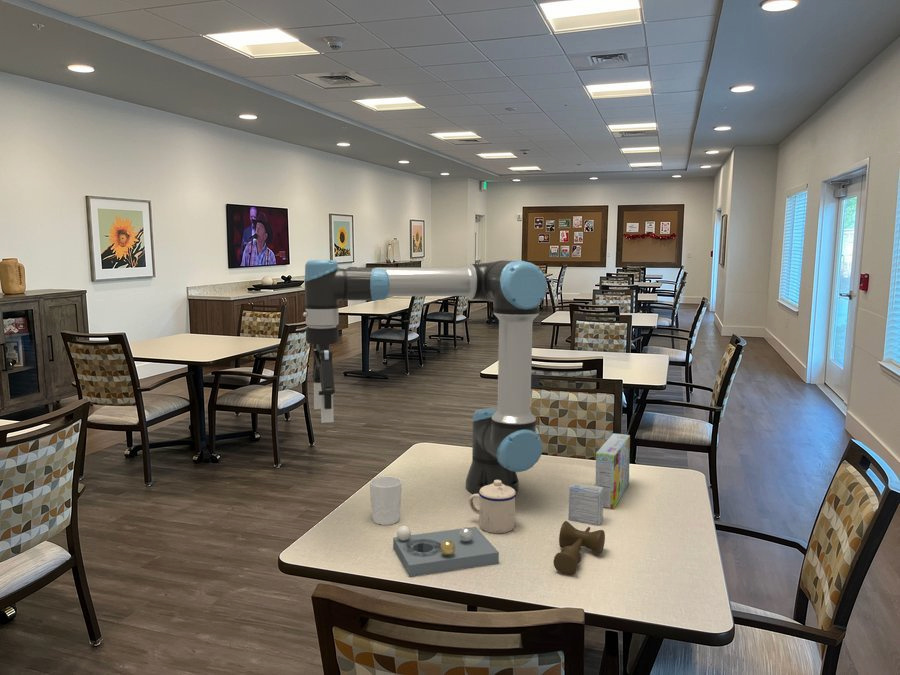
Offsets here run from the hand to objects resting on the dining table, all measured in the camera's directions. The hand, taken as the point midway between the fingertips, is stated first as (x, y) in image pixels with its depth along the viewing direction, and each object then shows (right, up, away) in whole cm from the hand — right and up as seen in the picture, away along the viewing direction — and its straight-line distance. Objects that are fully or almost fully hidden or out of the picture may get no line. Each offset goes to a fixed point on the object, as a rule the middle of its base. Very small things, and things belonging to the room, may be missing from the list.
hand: (323, 415), depth 155 cm
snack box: (+75, -26, +27) cm, 84 cm away
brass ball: (+30, -26, -16) cm, 43 cm away
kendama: (+58, -31, -10) cm, 67 cm away
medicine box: (+64, -28, +10) cm, 71 cm away
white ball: (+20, -25, -9) cm, 33 cm away
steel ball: (+34, -26, -9) cm, 43 cm away
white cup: (+14, -27, +9) cm, 32 cm away
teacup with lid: (+40, -28, +6) cm, 49 cm away
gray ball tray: (+29, -30, -10) cm, 43 cm away
